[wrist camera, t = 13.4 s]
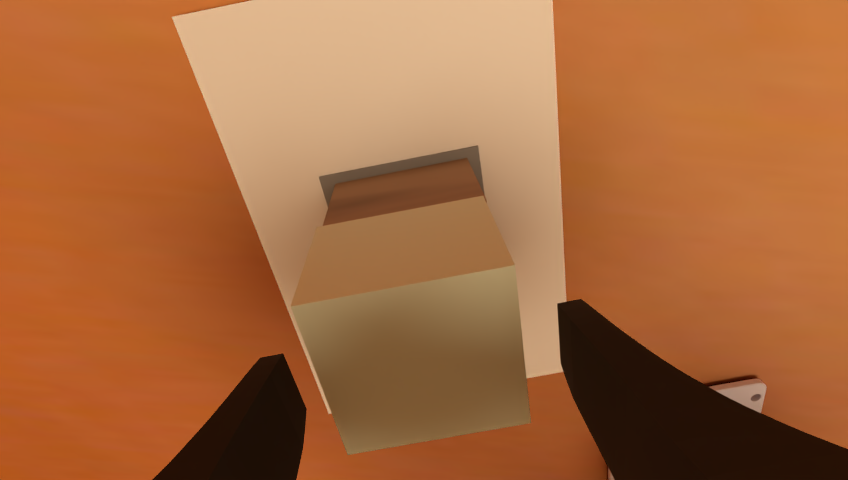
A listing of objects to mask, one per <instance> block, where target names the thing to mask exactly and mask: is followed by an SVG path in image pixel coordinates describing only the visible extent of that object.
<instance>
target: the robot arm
mask: <svg viewBox="0 0 848 480" xmlns="http://www.w3.org/2000/svg"><path fill="white" fill-rule="evenodd" d="M557 310H558V327H559V344H560V361H561V366H562V369H563V372H564V374H565V377H566V380H567V383H568V385H569V388H570V391H571V393H572V396H573V399H574V401H575V403H576V405H577V407H578V409H579V411H580V413H581V415H582V417H583V419H584V421H585V423H586V425H587V427H588V429H589V430H590V432H591V434H592V436H593V438H594V440H595V442H596V444H597V446H598V448H599V450H600V452H601V454H602V456H603V458H604V460H605V462H606V464H607V466H608V480H848V449H846V448H843V447H840V446H838V445H835V444H833V443H830V442H828V441H825V440H822V439H820V438H817V437H815V436H812V435H810V434H807V433H805V432H802V431H800V430H798V429H795V428H793V427H790V426H788V425H786V424H783V423H781V422H779V421H776V420H774V419H772V418H770V417H768V416H766V415H764V414H761V410H762V406H763V402H764V397H765V393H766V385H765V384H764V383H763V382H762V380H760V379H749V380H743V381H737V382H732V383H726V384H721V385H715V386H709V387H708V386H706V385H704V384H702V383H700V382H699V381H697V380H695V379H693V378H692V377H690V376H688V375H686V374H685V373H683V372H681V371H680V370H678V369H677V368H675V367H674V366H672V365H670V364H669V363H667V362H666V361H664V360H663V359H661V358H660V357H658V356H657V355H655V354H654V353H652V352H651V351H649V350H648V349H646V348H645V347H644V346H642V345H641V344H639V343H638V342H637V341H635V340H634V339H632V338H631V337H630V336H628V335H627V334H626V333H624V332H623V331H622V330H620V329H619V328H618V327H616V326H615V325H614V324H612V323H611V322H610V321H608V320H607V319H606V318H605V317H603V316H602V315H601V314H600V313H598V312H597V311H596V310H594V309H593V308H592V307H591V306H589V305H588V304H587V303H586V302H584V301H583V300H581V299H579V300H573V301H568V302H562V303H557ZM305 421H306V407H305V404H304V402H303V400H302V397H301V395H300V393H299V390H298V388H297V385H296V383H295V381H294V378H293V376H292V374H291V371H290V369H289V367H288V364H287V362H286V359H285V357H284V355H283V354H278V355H273V356H267V357H262V358H260V359H259V360H258V361H257V362H256V363H255V364H254V366H253V367H252V368H251V369H250V370H249V372H248V373H247V374H246V375H245V376H244V378H243V379H242V380H241V381H240V383H239V384H238V385H237V386H236V387H235V389H234V390H233V391H232V392H231V394H230V395H229V396H228V397H227V398H226V400H225V401H224V402H223V403H222V404H221V406H220V407H219V408H218V409H217V410H216V412H215V413H214V414H213V415H212V416H211V418H210V419H209V420H208V421H207V422H206V423H205V424H204V426H203V427H202V428H201V429H200V430H199V431H198V432H197V433H196V434H195V435H194V437H193V438H192V439H191V440H190V441H189V442H188V443H187V444H186V445H185V447H184V448H183V449H182V450H181V451H180V452H179V453H178V454H177V455H176V456H175V457H174V459H173V460H172V461H171V462H170V463H169V464H168V465H167V466H166V467H165V468H164V469H163V470H162V471H161V472H160V473H159V474H158V475H157V476H156V477H155V478H154V479H153V480H296V478H297V473H298V469H299V464H300V459H301V455H302V450H303V443H304V433H305Z"/></svg>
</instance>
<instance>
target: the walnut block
mask: <svg viewBox="0 0 848 480" xmlns="http://www.w3.org/2000/svg"><path fill="white" fill-rule="evenodd" d="M478 196H484V198H485V201H486V203H487V200H486V197H485V195H484V193H483V191H482V189H481V187H480V184H479V182H478V180H477V178H476V176H475V174H474V172H473V169H472V167H471V165H470V163H469V161H468V159H467V158H463V159H458V160H453V161H448V162H443V163H438V164H433V165H428V166H423V167H418V168H413V169H407V170H402V171H397V172H392V173H387V174H382V175H377V176H372V177H367V178H362V179H357V180H352V181H347V182H342V183H337V184H335V187H334V190H333V193H332V197H331V200H330V203H329V206H328V210H327V213H326V216H325V219H324V223H323V226H325V225H330V224H336V223H341V222H346V221H352V220H357V219H362V218H367V217H373V216H378V215H383V214H389V213H394V212H399V211H404V210H410V209H415V208H420V207H425V206H431V205H436V204H441V203H447V202H452V201H457V200H462V199H468V198H473V197H478Z"/></svg>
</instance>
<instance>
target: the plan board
mask: <svg viewBox="0 0 848 480" xmlns="http://www.w3.org/2000/svg"><path fill="white" fill-rule="evenodd" d="M172 19H173V21H174V24H175V26H176V29H177V31H178V34H179V36H180V39H181V42H182V44H183V47H184V49H185V52H186V54H187V57H188V59H189V62H190V64H191V67H192V69H193V72H194V74H195V77H196V79H197V82H198V84H199V87H200V90H201V92H202V95H203V97H204V100H205V102H206V105H207V107H208V110H209V112H210V115H211V117H212V120H213V122H214V125H215V127H216V130H217V132H218V135H219V138H220V140H221V143H222V145H223V148H224V150H225V153H226V155H227V158H228V160H229V163H230V165H231V168H232V170H233V173H234V175H235V178H236V180H237V183H238V186H239V188H240V191H241V193H242V196H243V198H244V201H245V203H246V206H247V208H248V211H249V213H250V216H251V218H252V221H253V223H254V226H255V228H256V231H257V234H258V236H259V239H260V241H261V244H262V246H263V249H264V251H265V254H266V256H267V259H268V261H269V264H270V266H271V269H272V271H273V274H274V276H275V279H276V282H277V284H278V287H279V289H280V292H281V294H282V297H283V299H284V302H285V304H286V307H287V309H288V312H289V314H290V317H291V319H292V322H293V324H294V327H295V330H296V332H297V335H298V337H299V340H300V342H301V345H302V347H303V350H304V352H305V355H306V357H307V360H308V362H309V365H310V367H311V370H312V373H313V375H314V378H315V380H316V383H317V385H318V388H319V390H320V393H321V395H322V398H323V400H324V403H325V405H326V408H327V410H328V413H329V414H331V410H330V408H329V405H328V402H327V400H326V397H325V395H324V392H323V389H322V387H321V384H320V382H319V379H318V376H317V374H316V371H315V369H314V366H313V364H312V361H311V358H310V356H309V353H308V351H307V348H306V345H305V343H304V340H303V338H302V335H301V333H300V330H299V327H298V325H297V322H296V320H295V317H294V314H293V312H292V309H291V307H290V306H291V303H292V300H293V297H294V294H295V291H296V288H297V285H298V282H299V279H300V276H301V273H302V270H303V267H304V264H305V261H306V258H307V255H308V252H309V249H310V246H311V243H312V240H313V237H314V234H315V231H316V228H317V227H320V226H323V223H324V219H325V216H326V213H327V210H328V206H329V203H330V200H331V197H332V193H333V190H334V187H335V184H337V183H342V182H347V181H352V180H357V179H362V178H367V177H372V176H377V175H382V174H387V173H392V172H397V171H402V170H407V169H413V168H418V167H423V166H428V165H433V164H438V163H443V162H448V161H453V160H458V159H463V158H467V159H468V161H469V163H470V165H471V167H472V169H473V172H474V174H475V176H476V178H477V180H478V182H479V184H480V187H481V189H482V191H483V193H484V195H485V197H486V200H487V205H488V207H489V209H490V212H491V214H492V216H493V218H494V220H495V223H496V225H497V227H498V229H499V231H500V233H501V236H502V238H503V240H504V242H505V244H506V247H507V249H508V251H509V253H510V255H511V257H512V260H513V262H514V264H515V270H516V280H517V290H518V299H519V309H520V319H521V329H522V339H523V349H524V359H525V369H526V378H531V377H537V376H543V375H548V374H554V373H559V372H563V369H562V366H561V361H560V344H559V327H558V310H557V303H562V302H566V283H565V261H564V239H563V218H562V196H561V174H560V152H559V131H558V109H557V87H556V65H555V44H554V22H553V0H251V1H246V2H241V3H237V4H232V5H227V6H222V7H217V8H213V9H208V10H203V11H198V12H193V13H189V14H184V15H179V16H174V17H172Z"/></svg>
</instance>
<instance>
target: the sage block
mask: <svg viewBox="0 0 848 480" xmlns="http://www.w3.org/2000/svg"><path fill="white" fill-rule="evenodd" d="M290 307H291V309H292V312H293V314H294V317H295V320H296V322H297V325H298V327H299V330H300V333H301V335H302V338H303V340H304V343H305V345H306V348H307V351H308V353H309V356H310V358H311V361H312V364H313V366H314V369H315V371H316V374H317V376H318V379H319V382H320V384H321V387H322V389H323V392H324V395H325V397H326V400H327V402H328V405H329V408H330V410H331V413H332V415H333V418H334V420H335V423H336V426H337V428H338V431H339V433H340V436H341V439H342V441H343V444H344V446H345V449H346V451H347V454H348V455H350V454H356V453H362V452H367V451H373V450H379V449H385V448H390V447H396V446H402V445H408V444H413V443H419V442H425V441H431V440H436V439H442V438H448V437H454V436H459V435H465V434H471V433H476V432H482V431H488V430H494V429H499V428H505V427H511V426H517V425H522V424H528V423H531V418H530V408H529V398H528V388H527V379H526V369H525V359H524V349H523V339H522V329H521V319H520V309H519V299H518V290H517V280H516V270H515V264H514V262H513V260H512V257H511V255H510V253H509V251H508V249H507V247H506V244H505V242H504V240H503V238H502V236H501V233H500V231H499V229H498V227H497V225H496V223H495V220H494V218H493V216H492V214H491V212H490V209H489V207H488V205H487V203H486V201H485V198H484V196H478V197H473V198H468V199H462V200H457V201H452V202H447V203H441V204H436V205H431V206H425V207H420V208H415V209H410V210H404V211H399V212H394V213H389V214H383V215H378V216H373V217H367V218H362V219H357V220H352V221H346V222H341V223H336V224H330V225H325V226H320V227H317V228H316V231H315V234H314V237H313V240H312V243H311V246H310V249H309V252H308V255H307V258H306V261H305V264H304V267H303V270H302V273H301V276H300V279H299V282H298V285H297V288H296V291H295V294H294V297H293V300H292V303H291V306H290Z"/></svg>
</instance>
